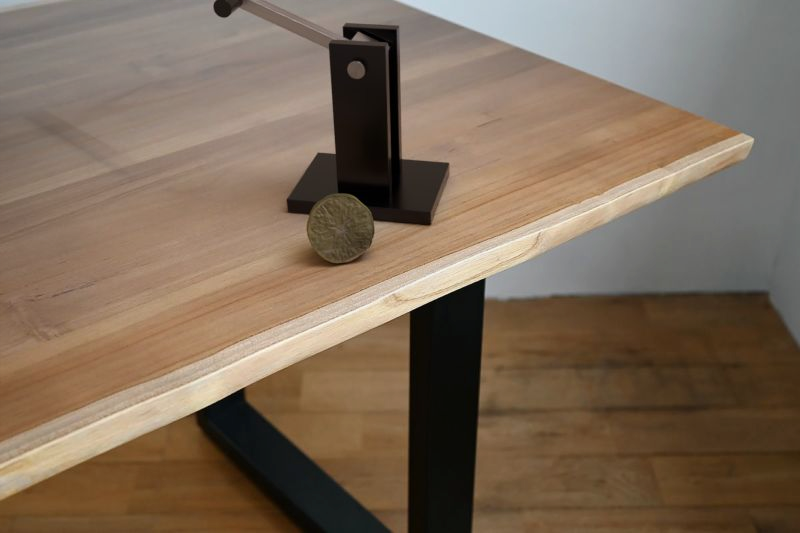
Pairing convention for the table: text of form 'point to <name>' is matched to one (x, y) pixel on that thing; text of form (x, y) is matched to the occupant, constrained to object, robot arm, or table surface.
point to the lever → (284, 20)
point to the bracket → (370, 136)
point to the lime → (340, 228)
